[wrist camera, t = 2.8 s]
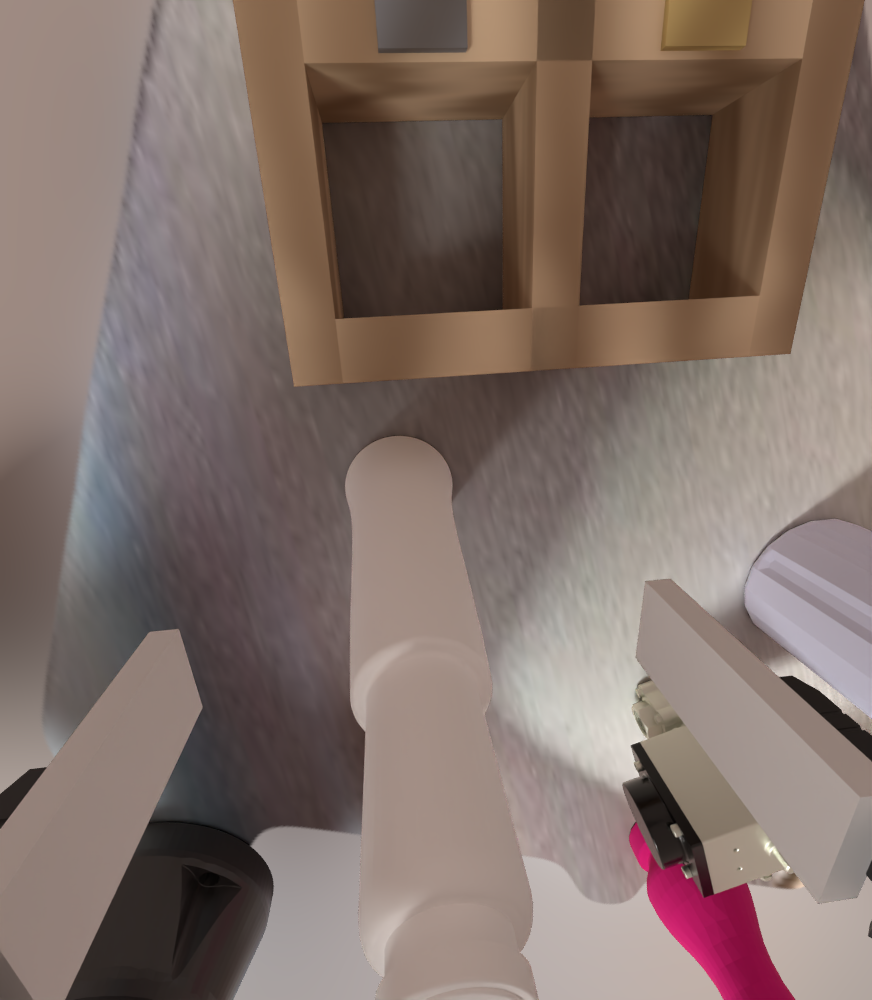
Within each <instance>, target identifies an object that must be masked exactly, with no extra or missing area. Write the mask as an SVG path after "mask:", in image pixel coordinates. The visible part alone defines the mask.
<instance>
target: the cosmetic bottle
mask: <svg viewBox="0 0 872 1000" xmlns="http://www.w3.org/2000/svg"><path fill="white" fill-rule="evenodd" d="M452 489H453V484H452V476H451V472H450V469H449V467H448V465H447V463H446V461H445V460H444V458H443V457H442V456H441V454H440V453H439V452H438V451H437V450H436V449H435V448H433V447H432V446H431V445H429V444H427V443H426V442H424V441H421V440H419V439H416V438H413V437H407V436H391V437H386V438H383V439H380V440H377V441H375V442H373V443H371V444H369V445H368V446H366V447H365V448H364V449H363V450H362V451H360V453H359V454H358V455H357V456H356V457H355V459H354V460H353V461H352V463H351V465H350V467H349V470H348V472H347V476H346V481H345V493H346V499H347V502H348V505H349V508H350V513H351V520H352V579H351V611H350V702H351V708H352V711H353V714H354V717H355V718H356V720H357V722H358V724H359V725H360V726H361V727H362V729H363V730H364V731H365V758H364V784H363V809H362V834H361V860H360V884H359V910H358V911H359V912H358V924H359V935H360V941H361V945H362V948H363V952H364V954H365V957H366V959H367V960H368V962H369V964H370V966H371V967H372V968H373V969H374V970H375V971H376V973H378V974H379V975H380V976H381V977H382V978H383V979H382V981H381V982H380V984H379V986H378V989H377V991H376V998H375V1000H539V999H538V994H537V990H536V986H535V982H534V977H533V973H532V969H531V966H530V964H529V962H528V960H527V959H526V958H525V957H524V956H523V955H522V954H521V953H520V952H521V950H522V949H523V948H524V946H525V944H526V942H527V940H528V937H529V935H530V931H531V927H532V921H533V901H532V895H531V889H530V886H529V882H528V878H527V874H526V870H525V867H524V863H523V859H522V855H521V851H520V848H519V844H518V840H517V836H516V832H515V829H514V825H513V821H512V817H511V813H510V810H509V806H508V802H507V798H506V794H505V790H504V787H503V783H502V779H501V775H500V771H499V768H498V764H497V760H496V756H495V752H494V749H493V745H492V741H491V737H490V733H489V730H488V726H487V722H486V718H485V713H486V711H487V709H488V706H489V704H490V701H491V696H492V678H491V673H490V668H489V664H488V659H487V654H486V650H485V645H484V641H483V636H482V632H481V627H480V623H479V619H478V615H477V611H476V607H475V603H474V598H473V594H472V590H471V586H470V583H469V579H468V575H467V571H466V567H465V563H464V559H463V555H462V551H461V548H460V543H459V539H458V535H457V531H456V527H455V522H454V516H453V510H452Z"/></svg>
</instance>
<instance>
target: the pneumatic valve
mask: <svg viewBox="0 0 872 1000" xmlns="http://www.w3.org/2000/svg"><path fill="white" fill-rule="evenodd" d="M635 691H636V693H637V695H638V697H639V698H642V701H641V702H638V703H635V704H633V706H632V712H633V715H634V717H635V720H636V722H637V724H638V726H639V728H640V729H641V731H642V733H643V734H644V736H645V737H646V738H647V740H644V741H641V742H639V743H636V744H633V745H631V748H632V752H633V755H634V759H635V762H634V765H635V768H636V770H637V771H638V773H639V776H640V777H637V778H634V779H632V780H629V781H626V782H624V783H623V790H624V793H625V796H626V799H627V801H628V804H629V806H630V809H631V811H632V814H633V816H634V818H635V820H636V823H637V825H638V827H639V829H640V831H641V833H642V835H643V838H644V840H645V842H646V844H647V846H648V847H649V849H650V851H651V853H652V855H653V857H654V859H655V860H656V862H657V864H658V865H659V866H660V868H661V869H663V870H665V869H668V868H670V867H673V866H676V865H679V864H683V865H684V866H682V867H681V869H682V871H683V874H684V875H685V877H686V878H687V879H688V878H691V877H692V878H693V880H694V882H695V884H696V885H697V887H698V889H699V891H700V892H701V894H702V896H703V898H705V897H708V896H711V895H714V894H716V893H719V892H722V891H725V890H728V889H730V888H733V887H736V886H739V885H742V884H744V883H747V882H750V881H753V880H756V879H758V878H760V879H762V880H763V881H770V880H771V879H772V873H775V872H778V871H781V870H783V871H785V872H787V873H789V874H792V873H794V871H793V870H792V868H791V867H790V866H789V864H788V863H787V862H786V860H785V859H784V858H783V856H782V855H781V854H780V852H779V851H778V849H777V848H776V847H775V845H774V844H773V843H772V841H771V840H770V839H769V837H768V836H767V835H766V833H765V832H764V831H763V829H762V828H761V826H760V825H759V824H758V822H757V821H756V820H755V818H754V817H753V816H752V814H751V813H750V812H749V810H748V809H747V808H746V806H745V805H744V804H743V802H742V801H741V799H740V798H739V797H738V795H737V794H736V793H735V791H734V790H733V789H732V787H731V786H730V785H729V783H728V782H727V781H726V779H725V778H724V777H723V775H722V774H721V772H720V771H719V770H718V768H717V767H716V766H715V764H714V763H713V762H712V760H711V759H710V758H709V756H708V755H707V754H706V752H705V751H704V750H703V748H702V747H701V745H700V744H699V743H698V741H697V740H696V739H695V737H694V736H693V735H692V733H691V732H690V731H689V729H688V728H687V727H686V725H685V724H684V723H683V721H682V720H681V718H680V717H679V716H678V714H677V713H676V712H675V710H674V709H673V708H672V706H671V705H670V704H669V702H668V701H667V700H666V698H665V697H664V696H663V694H662V693H661V691H660V690H659V689H658V687H657V686H656V685H655V683H654V682H653V681H652V680H651V681H648V682H645V683H643V684H640V685H638V689H635Z"/></svg>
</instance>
